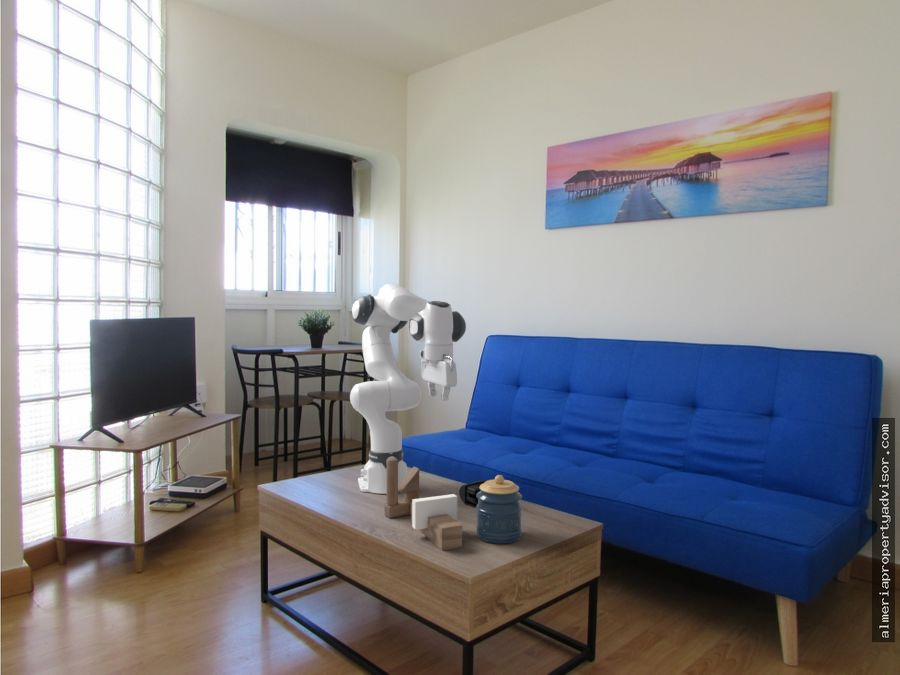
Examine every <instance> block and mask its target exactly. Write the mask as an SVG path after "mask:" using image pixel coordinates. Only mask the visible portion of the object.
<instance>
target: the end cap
mask: <svg viewBox="0 0 900 675" xmlns="http://www.w3.org/2000/svg"><path fill="white" fill-rule="evenodd" d="M486 481H488V479H482V480H479V481H474V482H470V483H466V484H465V483H464V484H462V485H461V486H460V487H459V494H458V495H459V498H460V499H461V500H460V501H462V502H463V503H464V505H466V506H468V507H470V508H471V507H472V508H474V509H475V508H477V504H478V498H477V496H476V495H477V493H478V492H479V491H481V490H480V488H479V487H480V485H481V484H483V483H485V482H486Z"/></svg>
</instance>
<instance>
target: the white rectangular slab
mask: <svg viewBox="0 0 900 675" xmlns="http://www.w3.org/2000/svg"><path fill="white" fill-rule="evenodd" d="M445 514H448V515H449V516H451V517H452V518H453V519H454V520H456V521H457V522H458V496H457V495H456V494H455V493H452V494H444V495H437V496H436V495H435V496H429V497H428V496H427V497H419V499H412V523H411V526H412V529H414V530H415V531H417V530H419V529H424V528H428V517H431V516H438V515H445Z"/></svg>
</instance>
